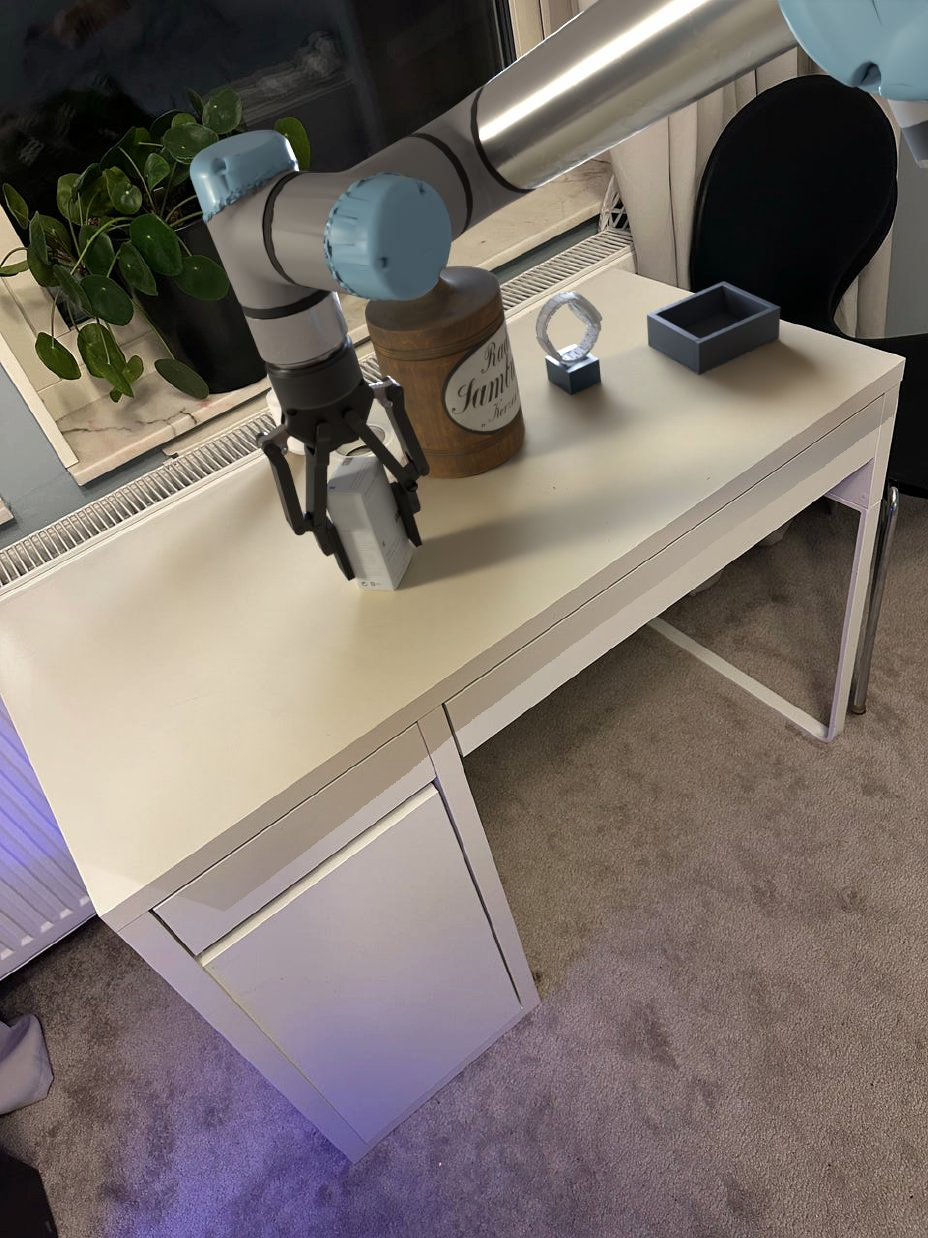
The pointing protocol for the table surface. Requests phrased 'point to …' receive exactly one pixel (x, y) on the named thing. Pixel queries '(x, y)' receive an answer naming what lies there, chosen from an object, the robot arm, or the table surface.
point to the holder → (713, 327)
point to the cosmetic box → (368, 523)
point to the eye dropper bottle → (275, 409)
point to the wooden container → (453, 370)
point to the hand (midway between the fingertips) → (380, 555)
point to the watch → (575, 362)
